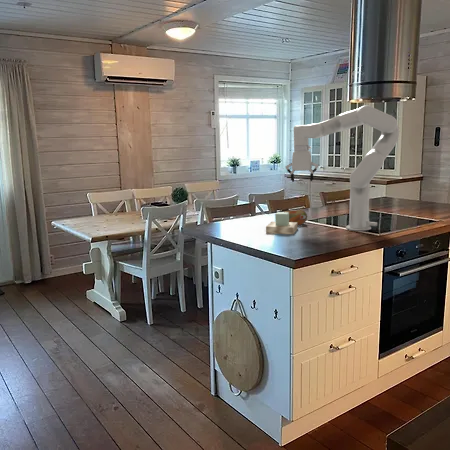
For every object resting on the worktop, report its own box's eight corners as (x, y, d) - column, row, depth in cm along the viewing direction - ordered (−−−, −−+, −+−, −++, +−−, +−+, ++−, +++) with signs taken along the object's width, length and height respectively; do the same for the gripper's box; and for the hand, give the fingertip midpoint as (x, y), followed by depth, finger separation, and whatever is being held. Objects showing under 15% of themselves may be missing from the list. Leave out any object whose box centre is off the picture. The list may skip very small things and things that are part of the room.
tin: (282, 226, 257) (282, 211, 256) (280, 225, 260) (279, 210, 259) (307, 224, 261) (307, 209, 259) (304, 223, 264) (304, 208, 262)
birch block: (297, 229, 249) (297, 222, 248) (293, 235, 236) (293, 227, 235) (271, 228, 253) (271, 221, 253) (266, 234, 240) (265, 226, 240)
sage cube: (289, 223, 246) (289, 212, 245) (287, 225, 240) (287, 214, 239) (277, 223, 248) (277, 212, 247) (275, 225, 242) (275, 213, 241)
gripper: (318, 147, 247) (319, 180, 250) (285, 149, 252) (287, 181, 255) (317, 148, 240) (318, 181, 243) (283, 150, 245) (285, 182, 248)
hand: (302, 181), depth 249 cm, fingers open, 9 cm apart
